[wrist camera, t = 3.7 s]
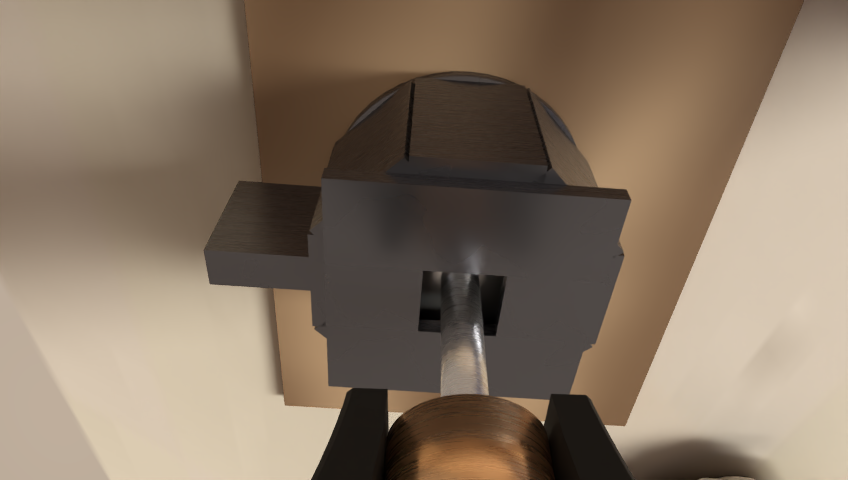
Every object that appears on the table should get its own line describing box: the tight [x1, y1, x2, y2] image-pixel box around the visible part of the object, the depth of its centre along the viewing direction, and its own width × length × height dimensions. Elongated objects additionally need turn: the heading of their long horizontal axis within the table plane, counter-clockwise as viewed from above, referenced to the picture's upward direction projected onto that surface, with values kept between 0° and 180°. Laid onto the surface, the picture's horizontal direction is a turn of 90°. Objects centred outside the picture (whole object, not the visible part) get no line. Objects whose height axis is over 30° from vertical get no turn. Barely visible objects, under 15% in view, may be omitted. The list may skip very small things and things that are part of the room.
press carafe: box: [204, 71, 631, 400], centre depth 16 cm, size 9×7×5 cm
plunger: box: [383, 271, 555, 480], centre depth 12 cm, size 5×5×7 cm
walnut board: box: [244, 0, 804, 426], centre depth 18 cm, size 13×18×1 cm
